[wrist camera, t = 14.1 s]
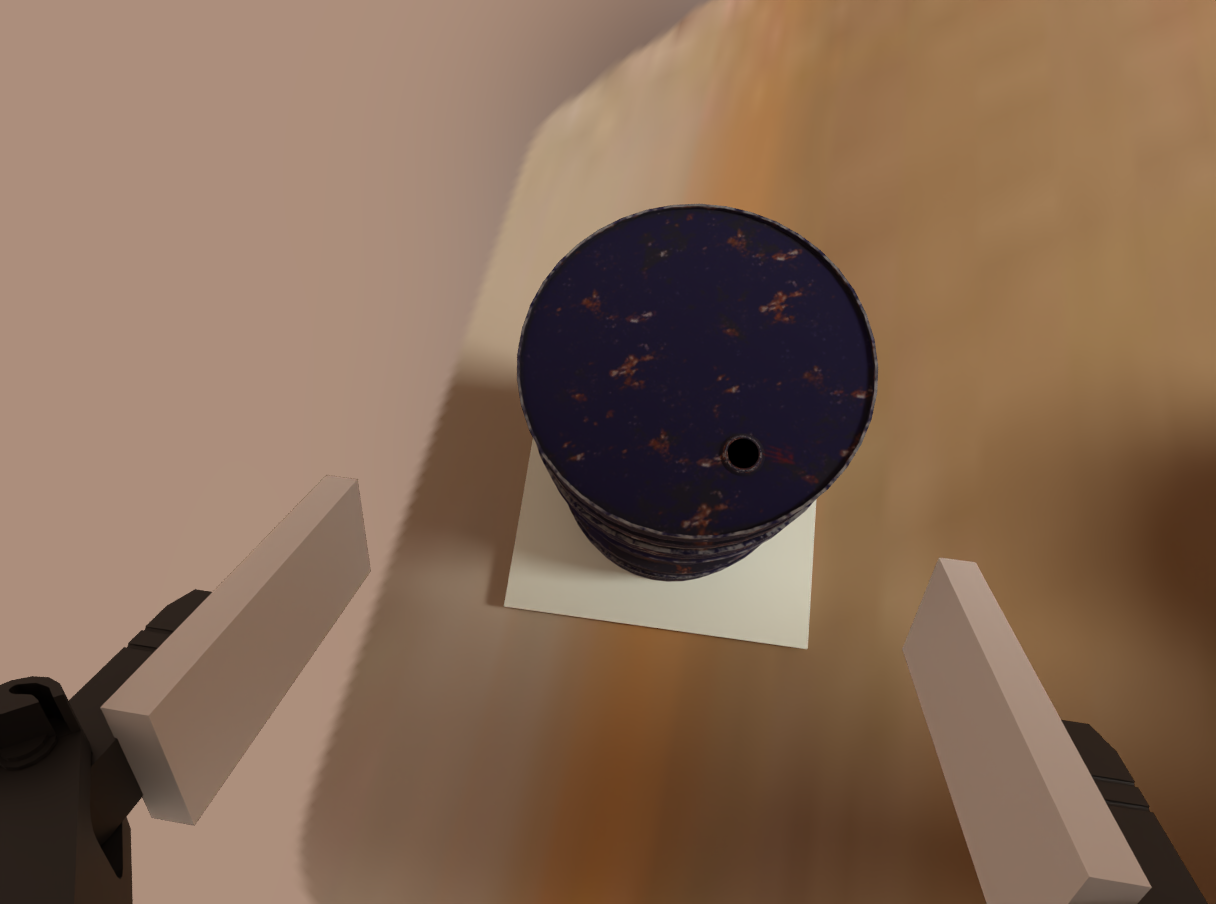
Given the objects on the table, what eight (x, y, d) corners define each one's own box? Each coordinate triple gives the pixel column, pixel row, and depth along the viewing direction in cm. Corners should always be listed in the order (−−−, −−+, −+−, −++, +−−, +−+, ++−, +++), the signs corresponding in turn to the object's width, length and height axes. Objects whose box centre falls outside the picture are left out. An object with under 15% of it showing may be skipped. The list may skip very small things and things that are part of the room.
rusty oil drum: (538, 431, 33) (460, 278, 19) (716, 355, 34) (773, 150, 19) (619, 620, 31) (601, 610, 16) (810, 533, 31) (955, 449, 17)
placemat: (818, 369, 34) (824, 361, 33) (802, 648, 31) (807, 648, 30) (553, 340, 36) (550, 332, 35) (507, 607, 32) (503, 606, 31)
